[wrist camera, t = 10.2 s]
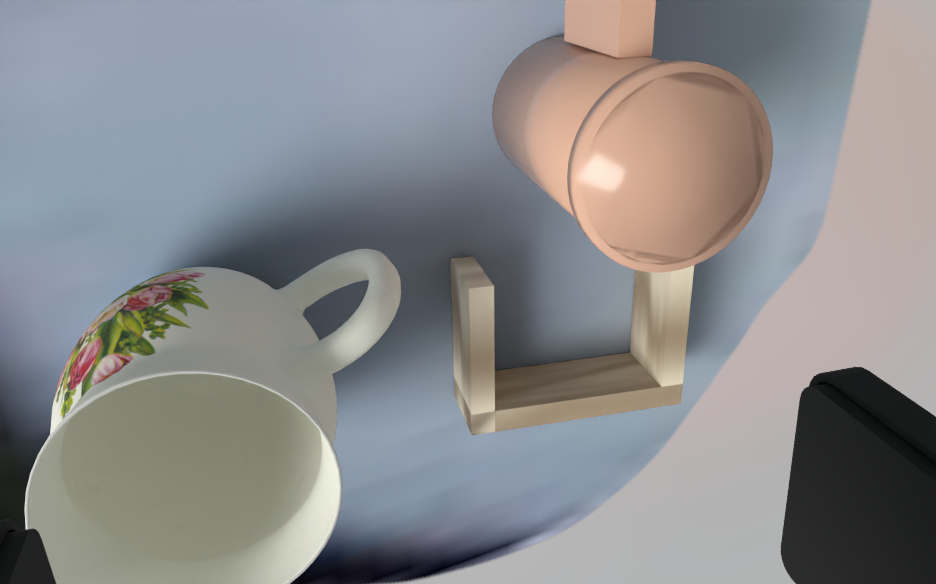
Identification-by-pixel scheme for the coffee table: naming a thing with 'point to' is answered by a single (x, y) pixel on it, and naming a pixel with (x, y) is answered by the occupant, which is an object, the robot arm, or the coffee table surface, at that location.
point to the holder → (569, 382)
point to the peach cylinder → (635, 138)
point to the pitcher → (203, 429)
